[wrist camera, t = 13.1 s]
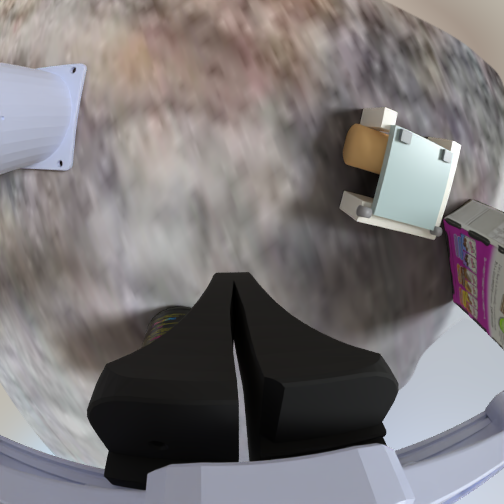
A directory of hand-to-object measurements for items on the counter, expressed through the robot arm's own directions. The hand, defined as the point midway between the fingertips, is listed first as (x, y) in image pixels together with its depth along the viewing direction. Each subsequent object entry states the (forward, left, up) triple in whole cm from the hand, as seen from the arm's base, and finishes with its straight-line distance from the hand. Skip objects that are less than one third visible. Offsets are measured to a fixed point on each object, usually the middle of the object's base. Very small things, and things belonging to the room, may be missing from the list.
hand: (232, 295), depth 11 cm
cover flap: (+11, +6, -7) cm, 15 cm away
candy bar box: (+24, +1, -11) cm, 26 cm away
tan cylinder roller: (+11, +6, -10) cm, 16 cm away
